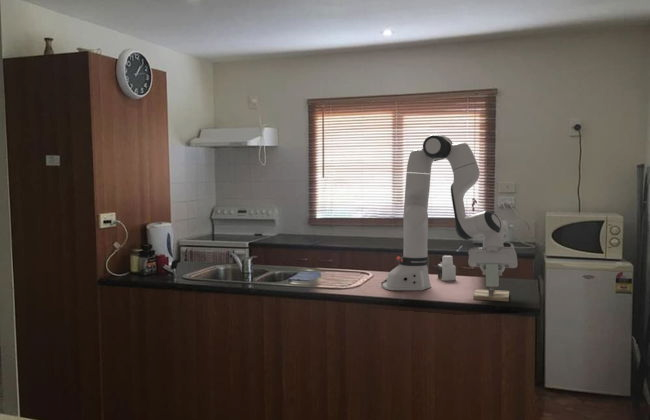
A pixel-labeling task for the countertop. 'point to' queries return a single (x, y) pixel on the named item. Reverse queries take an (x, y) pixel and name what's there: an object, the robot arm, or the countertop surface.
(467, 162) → the robot arm
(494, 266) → the block
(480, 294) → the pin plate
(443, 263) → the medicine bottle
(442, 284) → the countertop surface
